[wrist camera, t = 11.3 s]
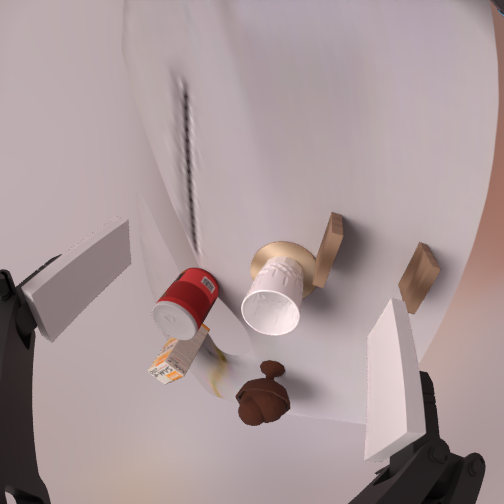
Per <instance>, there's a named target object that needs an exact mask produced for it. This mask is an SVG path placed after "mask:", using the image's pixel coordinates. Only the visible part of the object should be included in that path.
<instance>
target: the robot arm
mask: <svg viewBox="0 0 504 504" xmlns="http://www.w3.org/2000/svg"><path fill="white" fill-rule="evenodd" d="M491 1H492V2H493V4H494V5H495V6H496V7H497V10H498V11H499V13H500V14H501V15H502V16H503V17H504V0H491ZM129 265H131V254H130V241H129V221H128V219H124V218H121V217H118V216H117V217H115V218H114V219H112V220H111V221H109V222H108V223H106V224H105V225H103V226H102V227H100V228H99V229H97V230H96V231H94V232H93V233H92V234H90V235H89V236H87V237H86V238H85V239H83V240H82V241H80V242H79V243H77V244H76V245H75V246H73V247H72V248H71V249H69V250H68V251H67V252H65V253H64V254H61V255H59V256H56V257H54V258H52V259H50V260H49V261H48V262H46V263H45V264H44V266H41V267H40V268H39V269H38V270H36V271H35V272H34V273H32V274H31V275H30V276H29V277H28V278H26V279H25V280H24V281H23V282H21V283H20V284H19V285H18V286H16V287H15V285H14V282H13V279H12V277H11V274H10V272H9V271H8V270H3V269H2V270H0V504H7V501H6V497H5V491H6V492H8V493H10V494H12V495H13V497H14V498H15V500H16V503H17V504H51V502H50V498H49V494H48V491H47V488H46V486H45V484H44V483H43V481H42V480H41V478H40V476H39V473H38V467H37V461H36V452H35V443H34V432H33V416H32V415H33V414H32V376H33V357H34V346H35V331H34V329H35V328H36V327H37V326H38V328H39V330H40V333H41V335H42V336H44V337H45V338H46V339H47V340H49V341H50V342H54V340H55V339H56V338H57V337H58V336H59V335H60V334H61V333H62V332H63V331H64V330H65V329H66V328H67V326H69V324H70V323H71V322H72V321H73V320H74V319H75V318H76V317H77V316H78V315H79V314H80V313H81V312H82V311H83V310H84V309H85V308H86V307H87V306H88V305H89V304H90V303H91V302H92V301H93V300H94V299H95V298H96V297H97V296H98V295H99V294H100V293H101V292H102V291H103V290H104V289H105V288H106V287H107V286H108V285H109V284H110V283H111V282H112V281H114V279H116V278H117V277H118V276H119V275H120V274H121V273H122V272H123V271H124V270H125V269H126V268H127V267H128V266H129ZM367 362H368V398H367V426H366V442H365V454H364V461H373V462H382V461H384V460H386V459H387V458H389V457H390V464H389V465H388V466H386V467H384V468H382V469H380V470H379V471H377V472H376V473H375V474H379V473H380V474H379V475H378V476H377V477H376V478H375V479H374V480H373V481H372V482H371V483H370V484H369V485H368V486H367V487H366V488H365V489H364V490H363V491H362V492H360V493H359V495H357V496H356V497H355V498H354V499H353V500H352V501H351V502H350V503H348V504H475V503H476V500H477V497H478V494H479V491H480V488H481V485H482V481H483V477H484V474H485V461H484V459H483V457H482V456H481V455H480V454H478V453H471V454H469V455H468V456H466V457H461V456H458V455H456V454H453V453H451V452H450V449H449V446H448V445H447V443H445V441H444V440H442V439H440V436H439V426H438V417H437V408H436V405H435V403H436V401H435V396H434V387H433V382H432V380H431V378H430V377H429V375H428V373H427V372H422V371H419V367H418V361H417V355H416V350H415V345H414V339H413V335H412V330H411V325H410V321H409V316H408V312H407V308H406V304H405V301H401V300H398V299H394V298H391V299H390V300H389V302H388V304H387V306H386V307H385V309H384V311H383V313H382V314H381V316H380V318H379V319H378V321H377V323H376V324H375V326H374V327H373V329H372V331H371V332H370V334H369V335H368V337H367Z"/></svg>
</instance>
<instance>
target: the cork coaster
mask: <svg viewBox="0 0 504 504" xmlns="http://www.w3.org/2000/svg"><path fill="white" fill-rule="evenodd" d="M276 256H287V257H289V258H291V259H293V260H295V261H296V262H297V263H298V264H299V265H300V266H301V267H302V270H303V274H304V279H303V297H302V299H303V298H305V297H306V296H308V295H309V294H310V293H311V292H312V291H313V290H314V289H315V287H316V286H315V285H313V277H314V270H315V262H316V260H315V259H314V257H313V256H312V255H311V253H310V252H308V251H307V250H306V249H305V248H303V247H302V246H300V245H297V244H295V243H291V242H285V241H279V242H273V243H270V244H267V245H265V246H264V247H262V248H261V249H260V250H259V251H258V252H257V253H256V255H255V256H254V258H253V260H252V263H251V276H252V279H253V281H254V280H255V279H256V277H257V275H258V273H259V272H260V271H261V269H262V267H263V265H264V264H265V263H266V262H267V261H268V259H271V258H273V257H276Z"/></svg>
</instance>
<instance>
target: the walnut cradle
mask: <svg viewBox="0 0 504 504" xmlns="http://www.w3.org/2000/svg"><path fill="white" fill-rule="evenodd" d="M342 239H343V224H342V215H339V214H336V213H333V212H332V213H331V216H330V219H329V222H328V225H327V228H326V231H325V234H324V237H323V240H322V243H321V246H320V249H319V251H318V254H317V257H316V262H315V270H314V277H313V285H315V286H318V287H321V288H323V287H324V284H325V282H326V280H327V277H328V275H329V272H330V270H331V267H332V265H333V262H334V260H335V257H336V255H337V252H338V249H339V247H340V244H341V241H342ZM440 270H441V269H440V267H439V265H438V263H437V261H436V259H435V258H434V256H433V254H432V252H431V251H430V249H429V247H428V246H427V245H426V244H423V243H420V242H419V244H418V246H417V249H416V251H415V253H414V255H413V257H412V259H411V261H410V263H409V265H408V267H407V269H406V271H405V273H404V275H403V277H402V278H401V280H400V282H399V284H398V285H399V288H400V292H401V296H402V299H403V301H405V304H406V308H407V312H408V313H411V314H415V312H416V311H417V309H418V308H419V306H420V304H421V303H422V301H423V299H424V298H425V296H426V294H427V293H428V291H429V289H430V288H431V286H432V284H433V283H434V281H435V279H436V277H437V275H438V274H439V272H440Z"/></svg>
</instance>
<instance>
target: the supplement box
mask: <svg viewBox="0 0 504 504" xmlns="http://www.w3.org/2000/svg"><path fill="white" fill-rule="evenodd" d="M209 330H210V329H209V328H208V327H207V326H205V325H204V324H202V325H201V327H200V329H199V330H198V332H197V334H196V335H195V336H194V337H193V338H192V339H190V340H178V339H175V338H172V337H170V338H169V340H168V342H167V343H166V344H165V346H164V347H163V349H162V350H161V352H160V353H159V355H158V357H157V358H156V359H155V361H154V362H153V364H152V365H151V367H150V368H149V370H148V372H149V373H150V374H151V375H153V376H154V377H155V378H157V379H158V380H159V381H161V382H162V383H163V384H168V383H170V382H173V381H175V380H177V379H179V378H182V377H184V376H185V374H186V373H187V370H188V369H189V367H190V365H191V363H192V361H193V360H194V358H195V356H196V354H197V352H198V350H199V348H200V347H201V345H202V343H203V341H204V339H205V338H206V336H207V334H208V332H209Z"/></svg>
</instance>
